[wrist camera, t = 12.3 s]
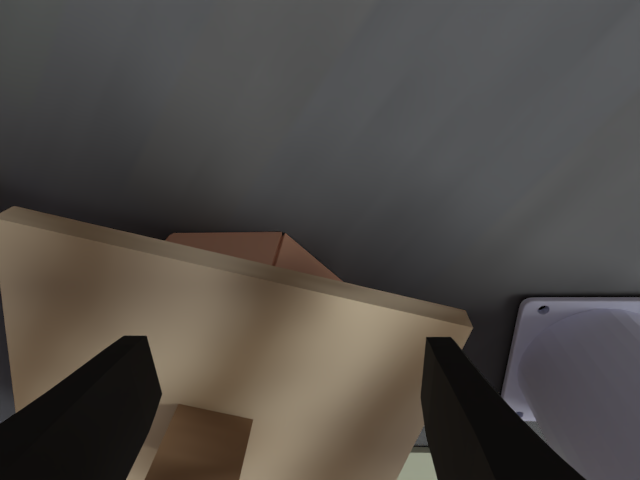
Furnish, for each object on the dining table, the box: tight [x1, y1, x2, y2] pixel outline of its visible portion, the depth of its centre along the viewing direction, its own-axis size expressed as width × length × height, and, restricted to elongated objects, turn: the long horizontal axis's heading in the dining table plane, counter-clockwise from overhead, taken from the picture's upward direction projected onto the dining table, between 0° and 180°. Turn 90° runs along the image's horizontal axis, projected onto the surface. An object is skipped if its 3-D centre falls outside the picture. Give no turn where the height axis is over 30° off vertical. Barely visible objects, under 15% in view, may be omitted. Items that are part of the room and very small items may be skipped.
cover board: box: [0, 206, 473, 480], centre depth 16 cm, size 16×16×6 cm
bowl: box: [165, 232, 343, 282], centre depth 20 cm, size 13×13×5 cm
